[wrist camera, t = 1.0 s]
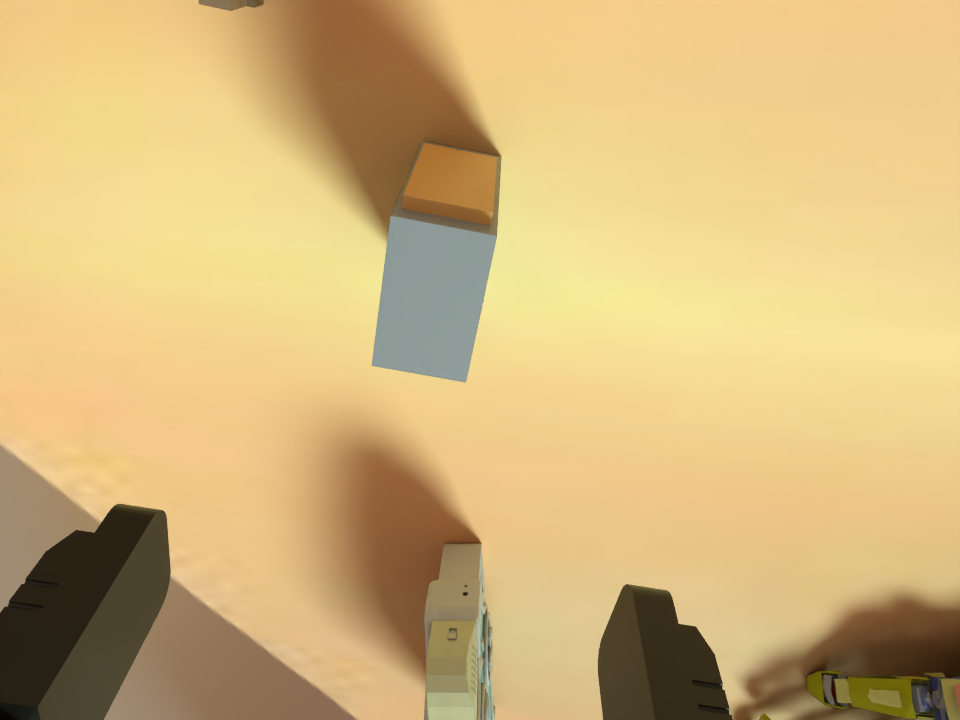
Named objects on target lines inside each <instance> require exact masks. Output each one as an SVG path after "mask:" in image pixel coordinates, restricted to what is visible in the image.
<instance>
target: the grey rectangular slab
mask: <svg viewBox="0 0 960 720" xmlns="http://www.w3.org/2000/svg"><path fill="white" fill-rule="evenodd" d="M424 626H425V644H426V691H425V710H424V720H495V707H493V695H492V676H491V670H492V662H493V657H492V627H491V626H490V614H489V612H488V609H487V604H486V603H485V593H484V575H483V556H482V543H472V544H444V545H443V552H442V559H441V565H440V572H439V579H438V580H435V581H432V582H431V583H430V584H429V587H428V593H427V599H426V605H425V614H424Z"/></svg>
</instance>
